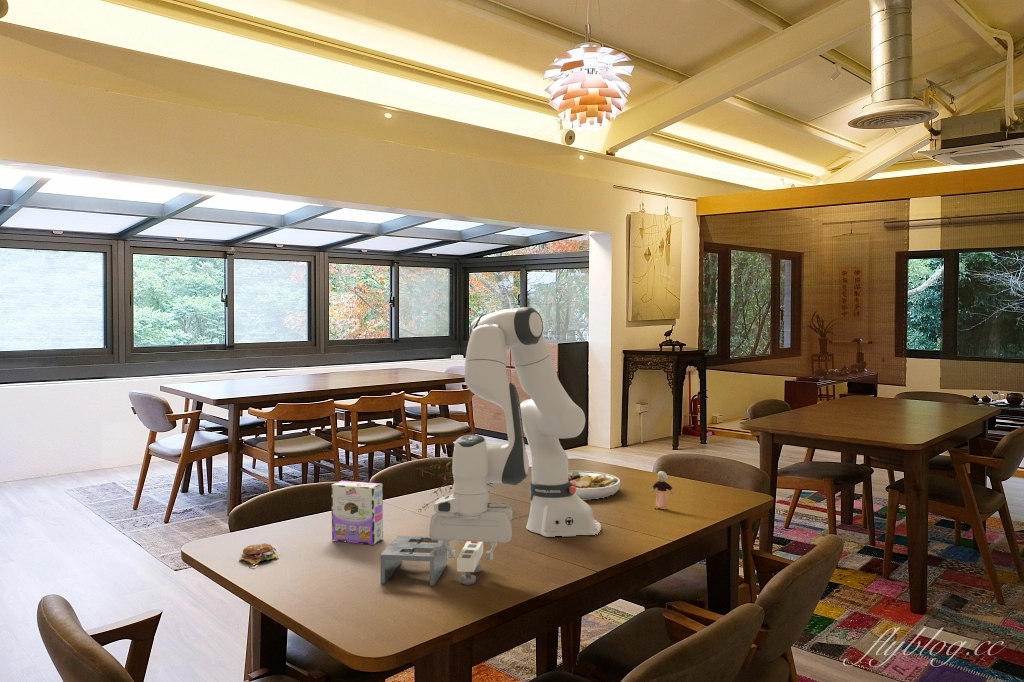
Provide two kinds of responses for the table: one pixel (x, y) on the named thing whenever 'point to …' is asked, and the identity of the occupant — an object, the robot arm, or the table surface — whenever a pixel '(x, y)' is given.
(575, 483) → the bowl
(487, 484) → the dried plant
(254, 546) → the hamburger
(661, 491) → the grandmother figurine
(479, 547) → the power strip
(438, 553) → the grey stepped cutout plate
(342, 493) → the candy box
